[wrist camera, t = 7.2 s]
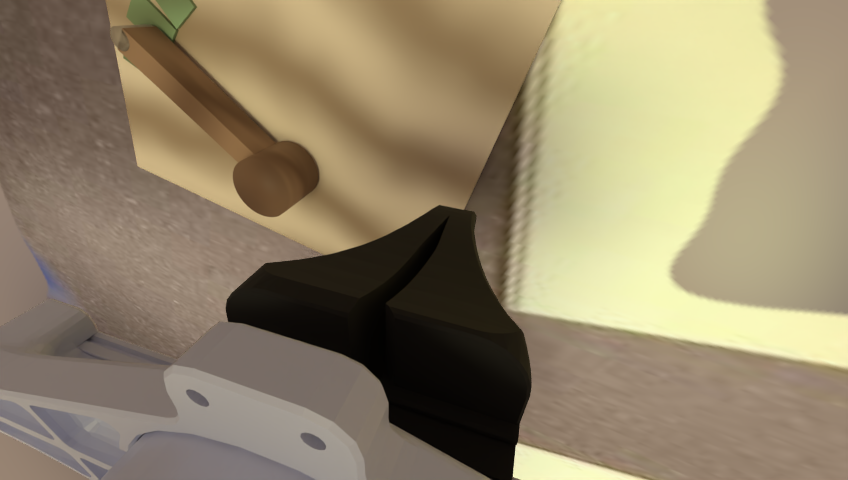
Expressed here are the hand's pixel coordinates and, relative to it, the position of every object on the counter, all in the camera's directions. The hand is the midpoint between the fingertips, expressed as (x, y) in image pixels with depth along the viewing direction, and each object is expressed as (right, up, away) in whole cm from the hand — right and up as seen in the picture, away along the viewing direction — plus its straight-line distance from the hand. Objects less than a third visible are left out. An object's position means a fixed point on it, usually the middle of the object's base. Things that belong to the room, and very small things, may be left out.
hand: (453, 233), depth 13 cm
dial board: (-8, +9, +9) cm, 15 cm away
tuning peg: (-13, +8, +10) cm, 18 cm away
